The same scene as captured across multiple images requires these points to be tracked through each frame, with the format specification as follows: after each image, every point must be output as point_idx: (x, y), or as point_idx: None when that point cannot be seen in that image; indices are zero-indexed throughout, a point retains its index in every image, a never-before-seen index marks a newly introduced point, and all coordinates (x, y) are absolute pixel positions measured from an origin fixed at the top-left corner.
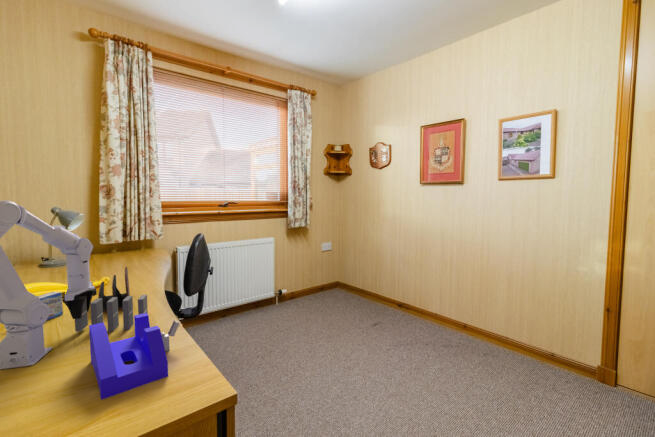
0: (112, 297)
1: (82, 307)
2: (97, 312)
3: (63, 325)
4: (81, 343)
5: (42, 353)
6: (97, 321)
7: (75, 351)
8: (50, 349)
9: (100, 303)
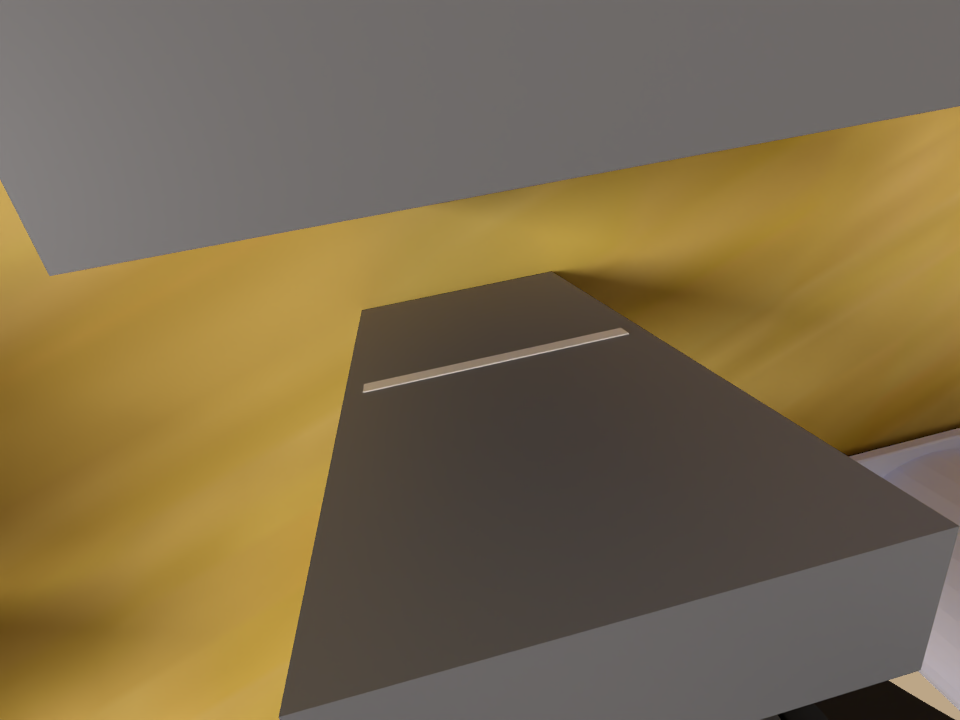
0: (59, 238)
1: (824, 704)
2: (653, 373)
3: None
4: (784, 287)
5: (946, 454)
6: (595, 312)
7: (946, 235)
8: (855, 458)
9: (478, 525)
